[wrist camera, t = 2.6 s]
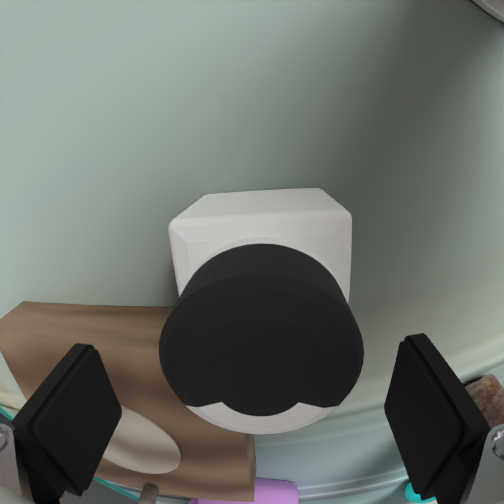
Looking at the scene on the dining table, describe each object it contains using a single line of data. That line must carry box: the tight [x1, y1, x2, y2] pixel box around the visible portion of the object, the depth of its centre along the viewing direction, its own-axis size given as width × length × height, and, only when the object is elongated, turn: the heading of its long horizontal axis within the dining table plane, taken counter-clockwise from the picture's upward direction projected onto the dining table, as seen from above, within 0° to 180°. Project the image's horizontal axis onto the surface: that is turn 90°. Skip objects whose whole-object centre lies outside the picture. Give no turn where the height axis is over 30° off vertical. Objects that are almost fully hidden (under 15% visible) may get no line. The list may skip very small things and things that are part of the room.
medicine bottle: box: [159, 188, 364, 434], centre depth 13 cm, size 7×7×12 cm
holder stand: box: [0, 301, 256, 504], centre depth 20 cm, size 20×20×9 cm
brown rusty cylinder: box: [464, 374, 504, 430], centre depth 14 cm, size 8×7×20 cm
